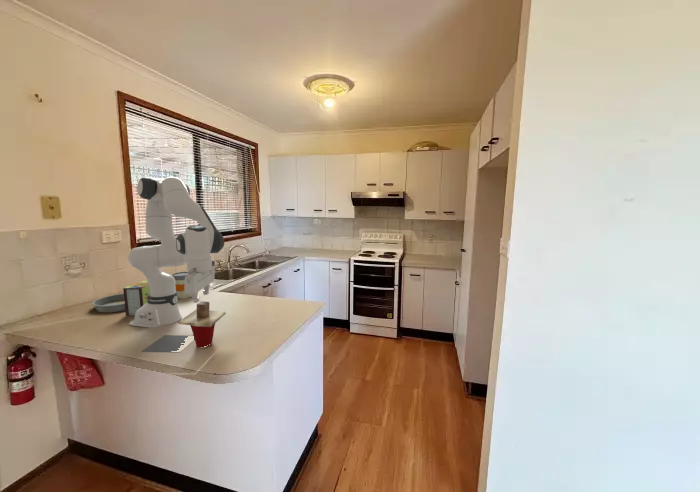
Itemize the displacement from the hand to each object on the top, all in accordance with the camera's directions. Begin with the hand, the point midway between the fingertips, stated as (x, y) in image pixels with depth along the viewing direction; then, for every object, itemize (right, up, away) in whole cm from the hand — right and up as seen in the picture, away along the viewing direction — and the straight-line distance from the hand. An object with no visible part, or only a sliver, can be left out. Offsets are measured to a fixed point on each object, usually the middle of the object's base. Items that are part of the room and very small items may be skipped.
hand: (201, 298), depth 119 cm
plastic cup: (0, -21, +3) cm, 21 cm away
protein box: (-53, -15, +42) cm, 69 cm away
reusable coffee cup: (-46, -11, +68) cm, 83 cm away
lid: (0, -9, +1) cm, 9 cm away
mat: (-14, -20, +4) cm, 25 cm away
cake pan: (-73, -14, +50) cm, 90 cm away
